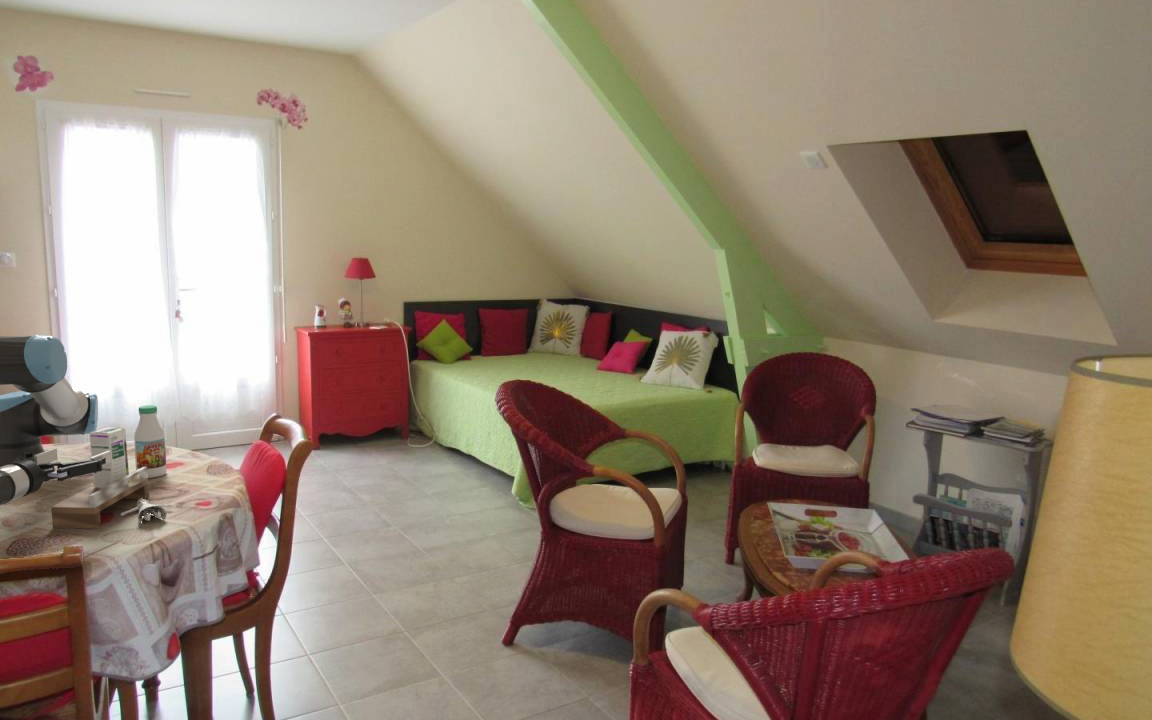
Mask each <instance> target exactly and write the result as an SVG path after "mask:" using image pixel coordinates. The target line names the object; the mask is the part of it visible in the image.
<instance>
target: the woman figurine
mask: <svg viewBox="0 0 1152 720" xmlns="http://www.w3.org/2000/svg"><path fill="white" fill-rule="evenodd" d="M165 508H173V504H152V503H150V502H149V500H147V499H146V498H145V499H143V498H140V499H139V498H137V501H136V507H134V508H131V509H128V510H126V511H122V512H121V513H120V516H122V517H123V516H125V515H126V514H129V513H133V512H136V511H138V515H137V519H138V522H139V524H141V521H142V516H144V520H145V521H151V516H150V513H151V514H153V515H154V516H155V517H154V518H155V519H159V520H160V518H162V519H163V520H164V521H165V520H166V519H167V514H168V513H167V511H166V510H165ZM147 513H148V514H147ZM141 525H142V524H141Z"/></svg>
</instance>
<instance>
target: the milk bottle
mask: <svg viewBox="0 0 1152 720" xmlns="http://www.w3.org/2000/svg"><path fill="white" fill-rule="evenodd" d="M157 407H158V406H156V405H152V404H151V405H150V404H149V405H142V406H139V407H138V413H139V414H138V415H139V421H138V424H137V427H135V428H136V429H135V432H134V437H133V438H134V440H133V441H134V458H135V463H134V464H135V471H136V470H138V469H140V468H142V467H147V470H148V479H153V478H158V477H162V476H165V474H167V453H166V440H165V432H164V430H163V427H162V425H161V423H160V422H159V420H158V416H157V414H158V408H157Z"/></svg>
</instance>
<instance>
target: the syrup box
mask: <svg viewBox="0 0 1152 720" xmlns="http://www.w3.org/2000/svg"><path fill="white" fill-rule="evenodd" d="M126 434H127V433H126V428H122V427H115V426H111V427H104V428H102V429H98V430H96V431H95V432H91V433H89V444H90V445H89V446H90V455H91V456H90V458H91V457H93V456H96V455H98V454H101V453H103V452H106V451H111V460H112V462H110V463H107V464H105V465H103V466H102V471H100V472H97V473H92V480H93V485H94V487H95V488H101V489H102V488H104V487H106V486H108V485H110V484H112V483H114V482H116V481H117V480H119V479H121V478H123V477H125V476H127V475H129V474H130V473H129V472H130V470H129V460H128V459H129V457H128V447H127V446H128V445H127V435H126Z"/></svg>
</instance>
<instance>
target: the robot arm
mask: <svg viewBox="0 0 1152 720" xmlns="http://www.w3.org/2000/svg"><path fill="white" fill-rule="evenodd" d="M67 369H68V357H67V353H66V352H65V347H64V344H63V343H62V341H61V340H60V339H59V338H57V337H56V336H53V335H44V334H34V335H14V336H13V335H11V336H10V335H9V336H3V335H1V336H0V386H1V385H3V386H5V385H12V386H14V387H15V388H16V390H19V391H15V392H14V391H13V392H9V393H5V394H0V507H1V506H2V505H4V506H7V505H9V503H10V502H13V501H15V500H18V499H20V498H23V497H26V496H28V495H30V494H32V493H35V492H37V491H39V489H40V488H41V487H42V485H43V484H44V482H49V481H51V480H56V479H57V481H58V482H63V481H66V480H68V479H72V478H76V477H81V476H86V475H90V474H93V473H97V472H100V471H102V466H103V465H105V464H107V463H110V462H112V460H111V451H106V452H103V453H101V454H98V455H96V456H93V457H91V456H90V457H89V459H84V460H77V461H69V462H64V463H61V462H59V461H57V460H59V459H58V448H56V447H55V448H51V449H48V450H45V449H44V447H43V445H42V437H52V436H53V437H55V436H72V435H73V436H74V435H75V436H76V435H82V436H85V435H88V434H89V433H91V432H95V431H97V429H98V419H99V418H98V417H99V416H98V415H99V399H98V395H97V394H95V393H90V392H87V393H84V392H83V391H81V390H80V389H78V388H76V387H72V386H71V384H70V383H69V381H68V379H67V378H66V375H67V371H68V370H67ZM89 435H90V434H89ZM55 461H57V462H55ZM55 467H56V468H57V469H56V470H55Z"/></svg>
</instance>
